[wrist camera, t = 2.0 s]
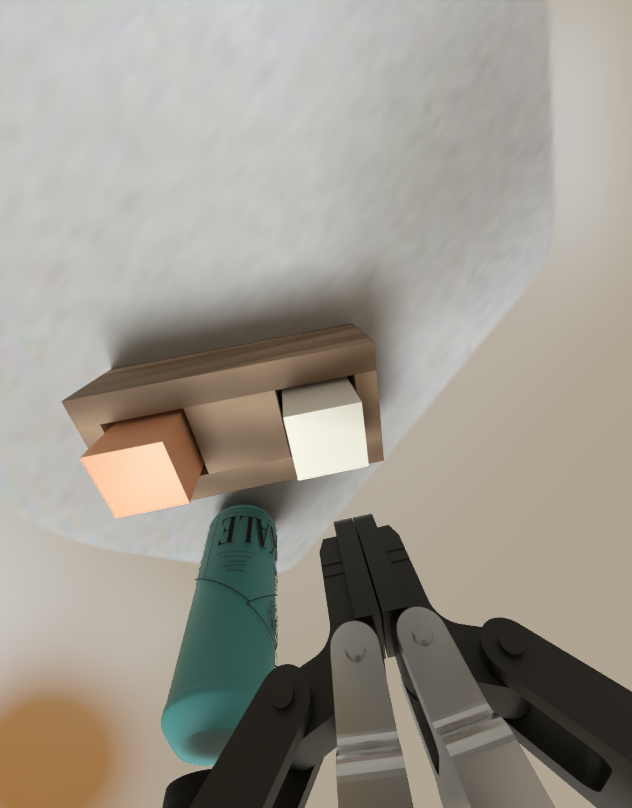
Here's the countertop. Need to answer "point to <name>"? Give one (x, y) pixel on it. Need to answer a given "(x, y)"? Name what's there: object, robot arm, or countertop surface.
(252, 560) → the beverage bottle
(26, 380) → the countertop surface
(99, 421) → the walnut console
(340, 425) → the white plug
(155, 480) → the terracotta plug
